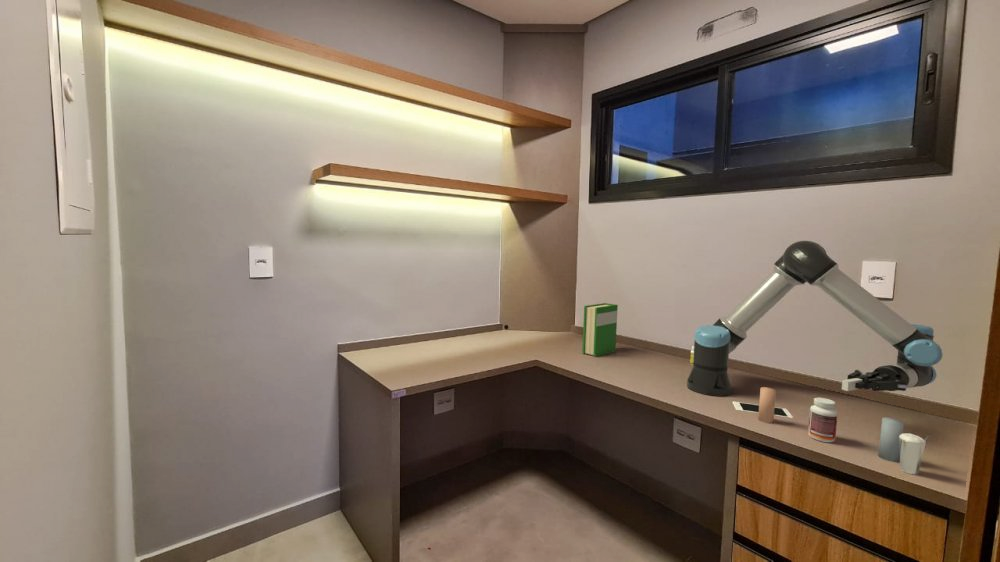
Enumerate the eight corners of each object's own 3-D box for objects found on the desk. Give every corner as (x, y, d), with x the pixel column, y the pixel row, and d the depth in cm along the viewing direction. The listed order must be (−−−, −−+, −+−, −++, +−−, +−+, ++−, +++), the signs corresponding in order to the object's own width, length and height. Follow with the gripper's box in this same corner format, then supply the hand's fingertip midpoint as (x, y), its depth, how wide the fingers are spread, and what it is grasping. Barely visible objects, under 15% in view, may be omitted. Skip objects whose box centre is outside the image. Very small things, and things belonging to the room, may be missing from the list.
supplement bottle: (691, 362, 190) (692, 345, 189) (702, 364, 187) (703, 346, 186) (688, 365, 186) (689, 347, 186) (699, 367, 184) (700, 348, 183)
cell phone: (731, 402, 143) (732, 401, 143) (786, 410, 137) (786, 408, 137) (736, 411, 135) (736, 409, 135) (793, 419, 130) (793, 417, 130)
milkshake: (930, 478, 97) (935, 438, 96) (901, 473, 98) (906, 433, 98) (919, 469, 101) (924, 430, 100) (891, 464, 103) (896, 426, 102)
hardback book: (594, 357, 196) (597, 307, 194) (582, 354, 202) (584, 305, 199) (615, 351, 208) (617, 304, 206) (603, 348, 213) (605, 303, 211)
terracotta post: (756, 420, 128) (759, 389, 127) (759, 416, 130) (762, 386, 130) (771, 424, 125) (774, 392, 124) (774, 420, 128) (777, 389, 127)
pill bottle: (840, 444, 113) (844, 405, 112) (815, 442, 114) (819, 403, 113) (826, 434, 119) (829, 397, 118) (803, 432, 120) (806, 395, 119)
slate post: (877, 457, 106) (882, 420, 105) (878, 452, 109) (882, 416, 108) (899, 463, 103) (903, 425, 102) (899, 457, 106) (903, 420, 105)
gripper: (920, 396, 120) (871, 406, 112) (867, 382, 132) (819, 390, 124) (923, 371, 119) (873, 379, 111) (869, 359, 131) (821, 366, 123)
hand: (845, 385), depth 117 cm, fingers closed
